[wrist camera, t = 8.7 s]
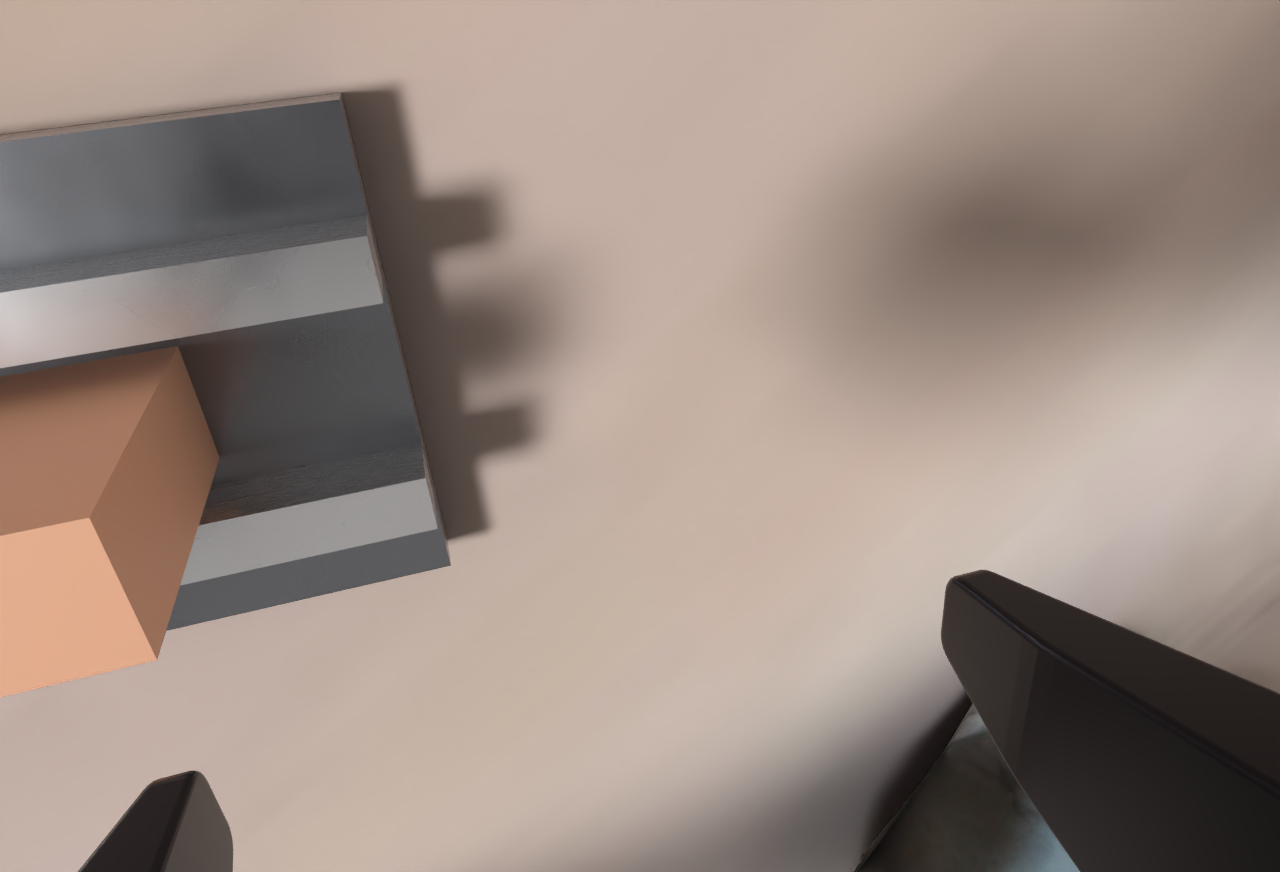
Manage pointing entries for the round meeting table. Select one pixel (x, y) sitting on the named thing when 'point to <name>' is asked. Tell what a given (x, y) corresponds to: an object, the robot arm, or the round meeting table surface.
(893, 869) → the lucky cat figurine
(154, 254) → the track base
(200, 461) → the tan flat rectangular block
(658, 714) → the round meeting table surface
